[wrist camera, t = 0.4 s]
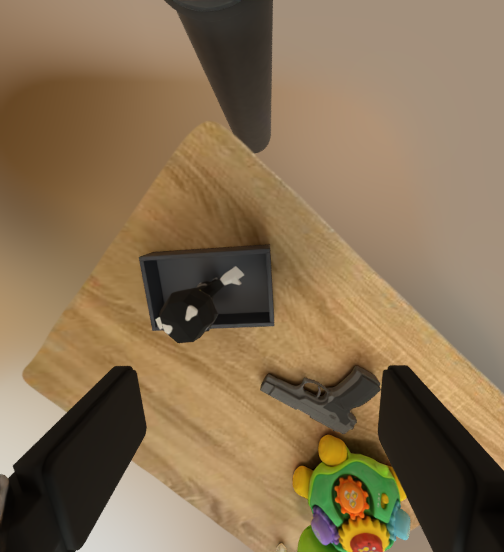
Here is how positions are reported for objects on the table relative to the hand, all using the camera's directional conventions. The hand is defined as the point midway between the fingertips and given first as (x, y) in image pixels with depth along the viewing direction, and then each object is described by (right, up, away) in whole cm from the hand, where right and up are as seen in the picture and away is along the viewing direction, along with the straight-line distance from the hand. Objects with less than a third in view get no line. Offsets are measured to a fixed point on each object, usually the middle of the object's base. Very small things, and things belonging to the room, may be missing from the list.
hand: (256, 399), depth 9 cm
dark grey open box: (-6, +3, +30) cm, 31 cm away
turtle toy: (+16, -34, +38) cm, 53 cm away
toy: (-6, +3, +30) cm, 30 cm away
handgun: (+11, -13, +33) cm, 37 cm away
